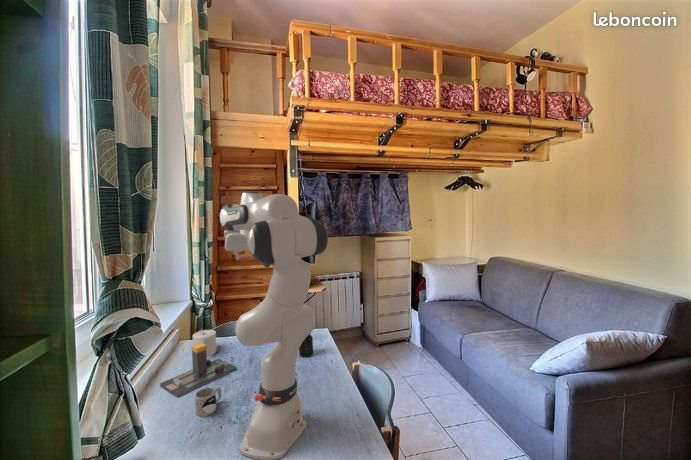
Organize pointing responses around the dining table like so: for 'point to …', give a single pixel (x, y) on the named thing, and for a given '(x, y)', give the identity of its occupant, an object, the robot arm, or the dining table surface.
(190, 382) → the breaker panel
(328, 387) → the dining table surface
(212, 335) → the toilet tissue
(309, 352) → the supplement bottle
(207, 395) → the mug
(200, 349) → the breaker handle
